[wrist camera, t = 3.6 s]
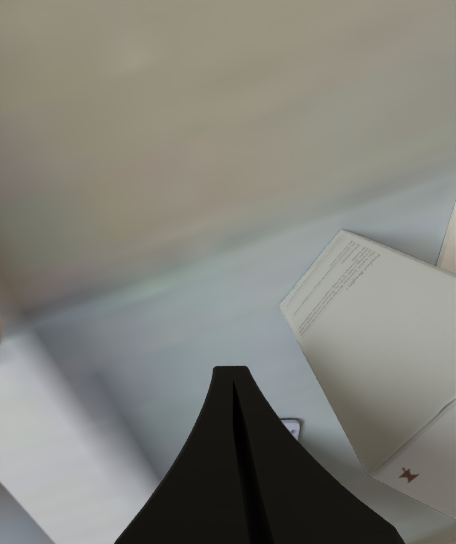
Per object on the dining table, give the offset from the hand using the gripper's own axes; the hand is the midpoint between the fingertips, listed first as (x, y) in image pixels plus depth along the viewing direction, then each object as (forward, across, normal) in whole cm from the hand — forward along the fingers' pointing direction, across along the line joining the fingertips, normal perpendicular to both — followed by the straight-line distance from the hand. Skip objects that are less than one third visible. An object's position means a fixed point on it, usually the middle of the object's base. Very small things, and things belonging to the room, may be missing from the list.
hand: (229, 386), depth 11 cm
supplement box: (+10, -9, 0) cm, 13 cm away
